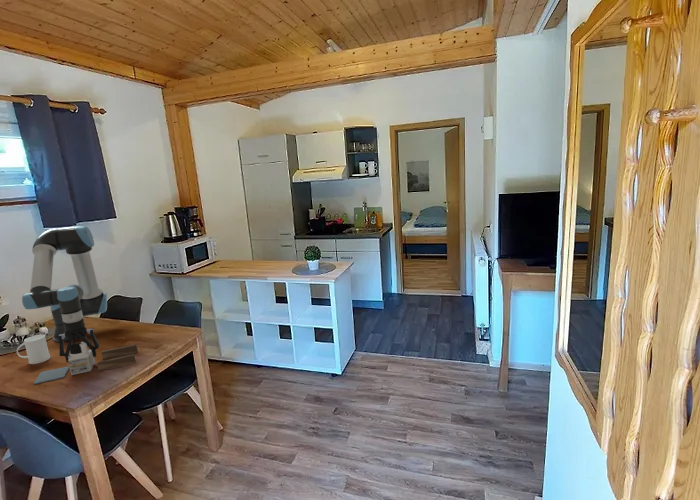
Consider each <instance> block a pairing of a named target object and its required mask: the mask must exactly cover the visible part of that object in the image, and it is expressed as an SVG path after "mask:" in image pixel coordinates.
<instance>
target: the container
mask: <svg viewBox="0 0 700 500" xmlns="http://www.w3.org/2000/svg"><path fill="white" fill-rule="evenodd" d="M69 348H70V352H69V354H71V356H70V358H69V360H68V366H69V367H70V368H69V371H70V375H71V376H75V375H79V374H83V373H87V372H91V371H92V370H93V367H94V365H95V364H93V365H92V360H91V355H90V351H91V349H89V347H88V346H87V343H85V342H84V341H79V342H75V343H72V345H71V346H70V347H69Z"/></svg>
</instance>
